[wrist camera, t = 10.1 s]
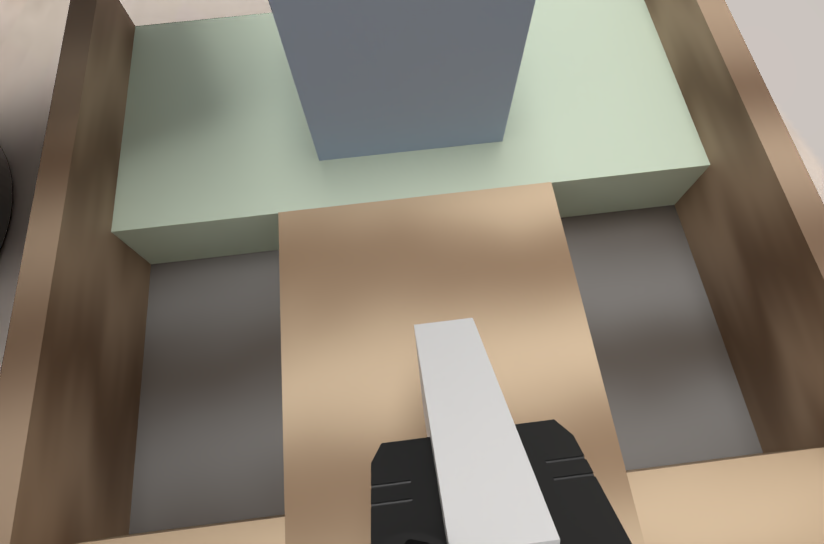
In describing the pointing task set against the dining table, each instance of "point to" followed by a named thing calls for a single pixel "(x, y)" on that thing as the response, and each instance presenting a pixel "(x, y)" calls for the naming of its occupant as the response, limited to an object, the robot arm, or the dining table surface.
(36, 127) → the dining table surface
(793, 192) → the box
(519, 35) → the slate block
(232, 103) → the pad
